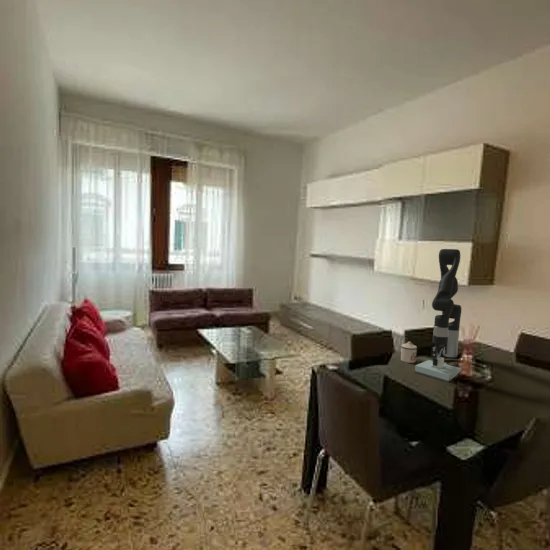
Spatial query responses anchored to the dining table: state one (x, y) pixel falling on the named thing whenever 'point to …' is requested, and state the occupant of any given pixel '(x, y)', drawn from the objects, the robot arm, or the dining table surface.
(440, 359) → the cream block with knob
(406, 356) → the teacup with lid
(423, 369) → the outlet block
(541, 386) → the dining table surface
